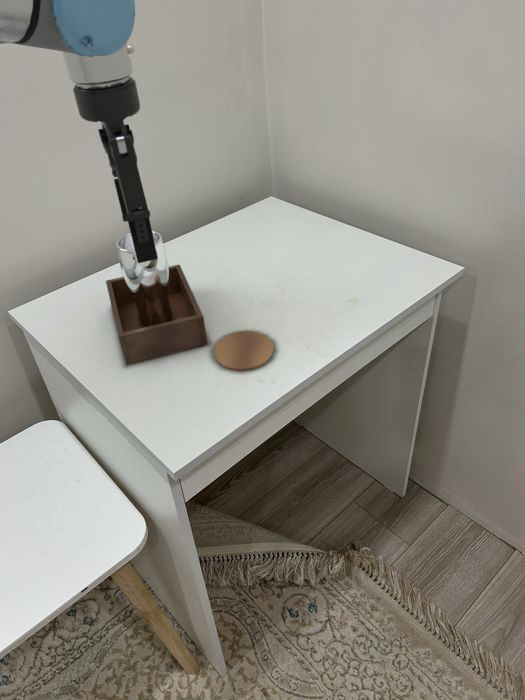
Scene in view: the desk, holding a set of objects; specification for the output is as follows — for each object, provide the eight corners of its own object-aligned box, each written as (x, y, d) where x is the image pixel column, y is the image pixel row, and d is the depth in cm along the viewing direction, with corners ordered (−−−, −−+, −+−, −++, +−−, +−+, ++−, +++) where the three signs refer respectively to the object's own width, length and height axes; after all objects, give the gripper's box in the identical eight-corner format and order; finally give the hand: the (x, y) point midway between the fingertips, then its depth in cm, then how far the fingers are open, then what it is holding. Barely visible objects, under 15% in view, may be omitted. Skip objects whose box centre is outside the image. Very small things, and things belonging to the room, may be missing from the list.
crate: (126, 365, 82) (118, 337, 78) (113, 307, 94) (105, 280, 90) (207, 344, 84) (203, 316, 81) (184, 290, 97) (179, 264, 93)
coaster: (223, 377, 78) (223, 375, 78) (207, 341, 85) (207, 339, 85) (282, 361, 80) (281, 359, 80) (262, 327, 87) (262, 325, 87)
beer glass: (130, 319, 90) (109, 237, 81) (169, 305, 92) (153, 224, 83) (143, 341, 85) (122, 256, 76) (185, 326, 88) (169, 243, 78)
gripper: (152, 100, 57) (183, 273, 71) (120, 56, 76) (150, 200, 89) (79, 112, 56) (126, 287, 69) (65, 64, 74) (104, 209, 88)
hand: (139, 238), depth 79 cm, fingers open, 13 cm apart
